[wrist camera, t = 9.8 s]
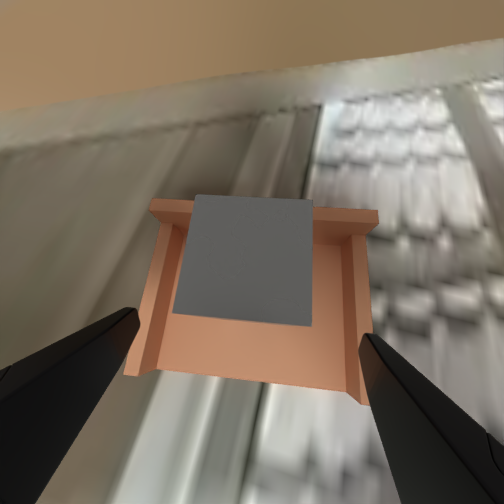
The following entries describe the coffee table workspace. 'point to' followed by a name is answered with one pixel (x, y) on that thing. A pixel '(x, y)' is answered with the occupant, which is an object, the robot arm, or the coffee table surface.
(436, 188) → the coffee table surface
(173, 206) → the coupler dock
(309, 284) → the block
